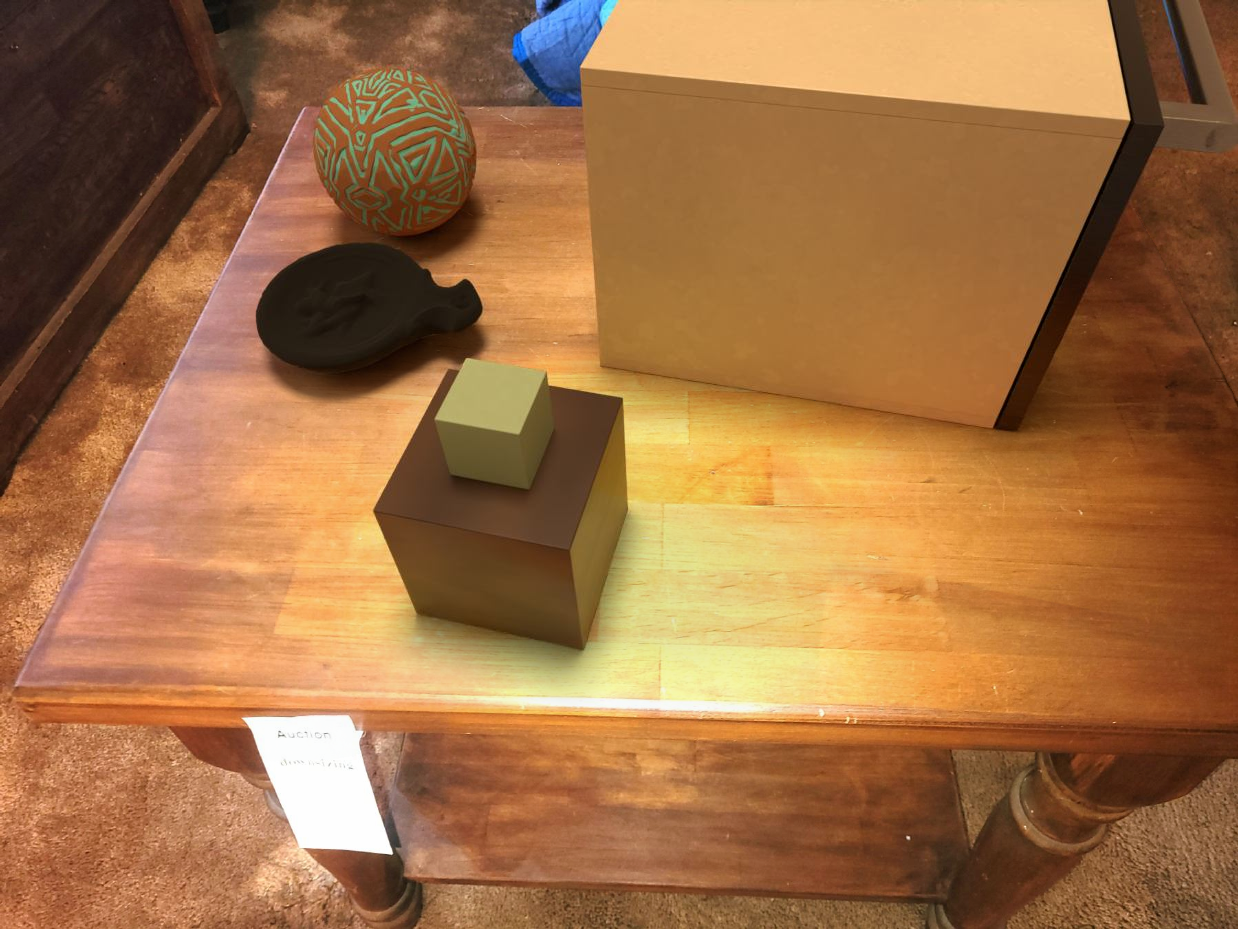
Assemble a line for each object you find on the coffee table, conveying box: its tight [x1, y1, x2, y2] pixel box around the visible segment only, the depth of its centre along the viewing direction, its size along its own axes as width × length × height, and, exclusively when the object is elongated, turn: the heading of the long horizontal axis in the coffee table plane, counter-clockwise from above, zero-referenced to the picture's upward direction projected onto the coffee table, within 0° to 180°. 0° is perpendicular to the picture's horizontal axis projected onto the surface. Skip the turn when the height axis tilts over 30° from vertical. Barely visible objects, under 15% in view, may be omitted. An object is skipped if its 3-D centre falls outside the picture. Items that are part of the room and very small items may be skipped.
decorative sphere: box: [312, 66, 478, 236], centre depth 83 cm, size 15×15×15 cm
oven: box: [579, 0, 1131, 429], centre depth 74 cm, size 32×40×26 cm
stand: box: [372, 368, 629, 651], centre depth 58 cm, size 12×12×12 cm
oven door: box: [995, 0, 1238, 432], centre depth 70 cm, size 8×40×26 cm, turn 165°
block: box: [435, 357, 554, 490], centre depth 51 cm, size 5×5×5 cm
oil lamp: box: [255, 241, 484, 374], centre depth 76 cm, size 15×20×5 cm
